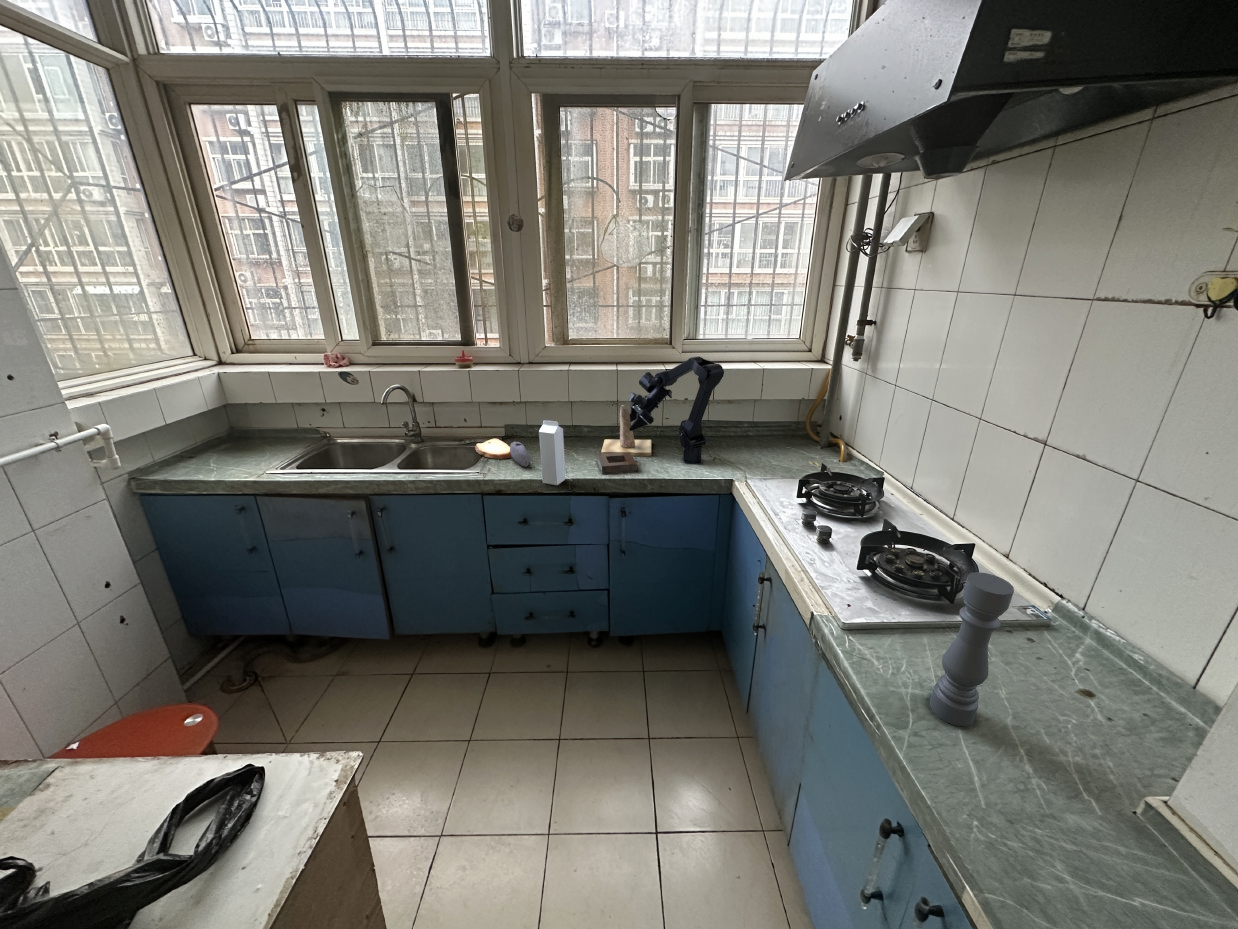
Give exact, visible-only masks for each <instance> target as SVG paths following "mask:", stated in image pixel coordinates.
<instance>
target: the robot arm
mask: <svg viewBox="0 0 1238 929" xmlns="http://www.w3.org/2000/svg"><path fill="white" fill-rule="evenodd" d="M691 372H693V374H694V375H695V376H697V381H698V385H699V387H698V390H697V393H696V395H695V398H694V401H693V404H692V407H691V410H690V413H689V416H688V418H687V419H684V420H681V422H680V424H679V428H678V437H679V443H680V447H682V461H684V462H683V463H684V464H700V465H701V464H703V461H702V451H703V450H702V449H703V447H702V446H706V444H707V439H706V437H705V435H704V434H703V424H702V420H703V418H704V416H705V412H706V410H707V407H708V405H709V402H710V398H711V396H712V393H713V391H714V389H715V388H716V387H717V386H719V384H720V383H721V381H722V379H723V377H724V375H725V370H724V368H723V366H722V364H720V363H718V362H717V363H716V362H714V361H711V360H709V359H705V358H703V357H702V356H698V355H697V356H692V357H689V358H688V359H687V360H685V361H683V362H681V363H680V364H678V365H676V366H675V367H673V368H670V369H668V370H664V371H663V370H662V371H660V372H657V373H655V375H653V374H652V373H651V371H647V372H645V373H644V375H642V376H641V377H640V379H639V380H638V384H639V386H641V387H642V389H644V391H646V393H648V394H644V395H642V394H639V393H635V392H633V391H631V392H630V394H629V396H628V399H627V400H629V402H630V405H629V408H630V411H629V415H630V422H631V427H630V428H629V430H630V431H636V430H638V429H639V428H642V427H645V426H649V425H652V424H653V423H654V421H655V420H654V416H653V415H652V412H653V411H654V410H655V409H659V405H660V404H661V403H662V402H663V401H664V400H665V399H666V398H667V397H668V398H669V399H672V398H673V391H672V390H671V389H667V388H666V387H670V386H673V385H675V383H676V382H677V381H678V380H679V378H681V377H683V376H685V375H687V374H689V373H691Z"/></svg>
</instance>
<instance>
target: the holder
mask: <svg viewBox="0 0 1238 929" xmlns="http://www.w3.org/2000/svg"><path fill="white" fill-rule="evenodd" d="M596 462H597V465H598V467H599V470H600V472H601V474H602V475H609V474H622V473H634V472H638V463H637V461H636V460H635V458H634V456H632V455H631V453H630V452H626V453H612V454H601V453H600V454H596Z"/></svg>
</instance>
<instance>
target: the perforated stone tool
mask: <svg viewBox="0 0 1238 929" xmlns="http://www.w3.org/2000/svg"><path fill="white" fill-rule="evenodd" d="M509 447H510V453H511V456H512V457H511V458H512V459H513V460H514V461H515V462H516V463H517V464H518V465H520V466H521V467H524V468H526V467H528V466H529V464H530V454H529V453H528V452H529V451H528V450H527V448H526V447H525V446H524V444H522V443H521V442H520V441H513V442H511V443H510V445H509Z"/></svg>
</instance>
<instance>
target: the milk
mask: <svg viewBox="0 0 1238 929" xmlns="http://www.w3.org/2000/svg"><path fill="white" fill-rule="evenodd" d="M538 438H539V453H540V464H541V479H542V484H547V485H552V486H559V485H560V484H562V482H564V481H566V463H565V460H566V458H565V441H564V440H565V439H564V428H563V427H561V426H559V422H558V421H556V420H555V421H554V420H546V419H543V420H542V425H541V427H540V428H539V430H538Z"/></svg>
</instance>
